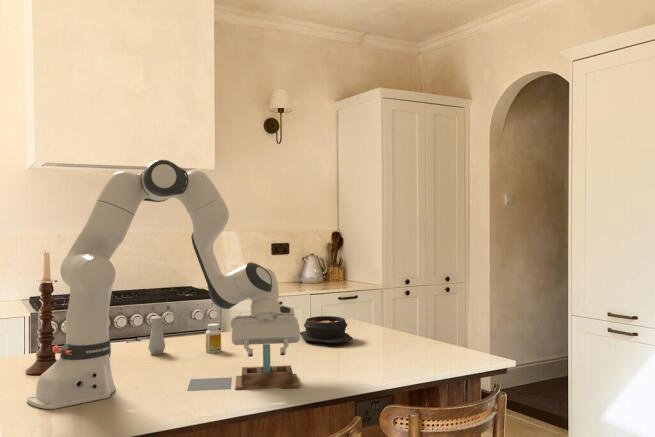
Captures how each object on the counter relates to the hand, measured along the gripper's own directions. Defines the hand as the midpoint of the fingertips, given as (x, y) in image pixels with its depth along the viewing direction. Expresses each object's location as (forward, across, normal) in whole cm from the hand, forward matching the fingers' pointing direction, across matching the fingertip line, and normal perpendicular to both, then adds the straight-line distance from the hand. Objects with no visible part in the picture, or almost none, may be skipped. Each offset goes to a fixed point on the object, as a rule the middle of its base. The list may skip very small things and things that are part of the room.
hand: (266, 355), depth 176 cm
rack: (+6, 0, +6) cm, 8 cm away
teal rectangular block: (+5, 0, +6) cm, 8 cm away
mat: (+5, -16, +7) cm, 18 cm away
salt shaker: (-26, -37, +38) cm, 59 cm away
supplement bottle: (-25, -18, +38) cm, 49 cm away
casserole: (-33, +24, +46) cm, 62 cm away
